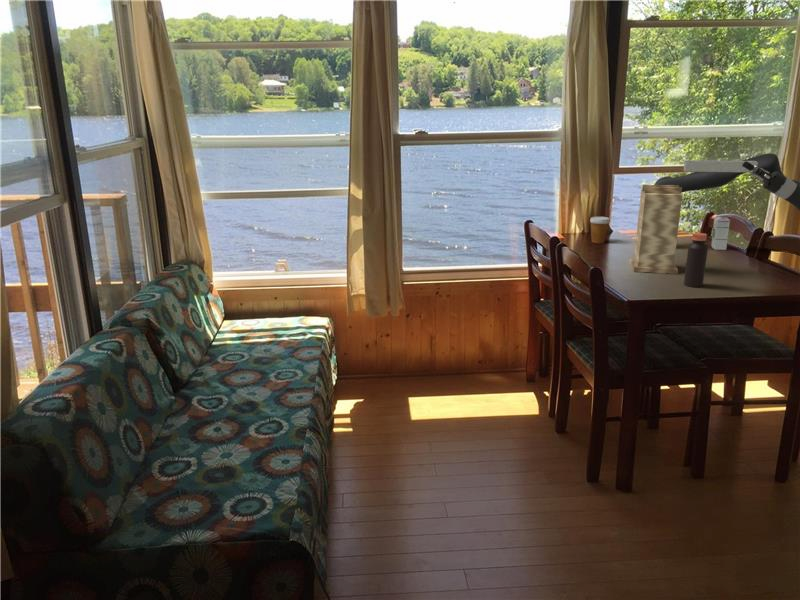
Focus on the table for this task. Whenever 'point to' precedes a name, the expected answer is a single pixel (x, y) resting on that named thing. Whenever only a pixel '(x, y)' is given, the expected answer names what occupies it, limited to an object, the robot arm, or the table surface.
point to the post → (657, 229)
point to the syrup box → (720, 233)
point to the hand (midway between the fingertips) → (742, 162)
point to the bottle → (696, 261)
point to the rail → (716, 166)
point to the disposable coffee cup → (599, 229)
